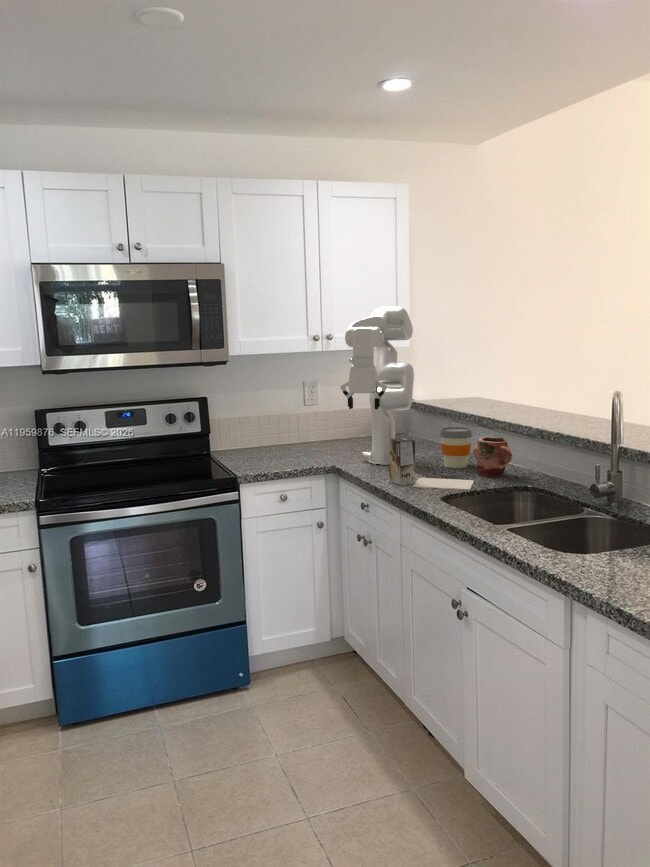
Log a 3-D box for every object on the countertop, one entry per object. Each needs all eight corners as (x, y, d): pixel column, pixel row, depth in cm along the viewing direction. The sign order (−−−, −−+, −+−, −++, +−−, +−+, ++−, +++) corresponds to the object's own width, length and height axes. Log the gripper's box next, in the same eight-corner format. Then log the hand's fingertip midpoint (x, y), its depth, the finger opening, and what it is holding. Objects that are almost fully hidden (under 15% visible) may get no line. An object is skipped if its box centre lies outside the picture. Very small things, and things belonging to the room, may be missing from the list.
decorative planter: (524, 478, 263) (525, 441, 261) (500, 482, 257) (501, 444, 255) (486, 469, 280) (487, 434, 278) (463, 472, 274) (463, 437, 272)
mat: (412, 487, 252) (412, 486, 252) (419, 479, 265) (419, 477, 265) (469, 490, 246) (469, 488, 246) (474, 481, 259) (474, 480, 259)
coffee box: (416, 484, 257) (416, 440, 255) (400, 486, 255) (400, 441, 252) (403, 479, 265) (403, 436, 263) (388, 481, 263) (388, 438, 261)
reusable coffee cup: (446, 461, 296) (446, 426, 294) (475, 464, 290) (476, 428, 287) (435, 467, 285) (435, 430, 283) (465, 470, 279) (465, 432, 277)
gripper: (337, 362, 257) (338, 409, 260) (384, 362, 252) (384, 410, 254) (343, 361, 264) (343, 407, 267) (388, 361, 259) (389, 408, 262)
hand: (363, 408), depth 261 cm, fingers open, 9 cm apart
